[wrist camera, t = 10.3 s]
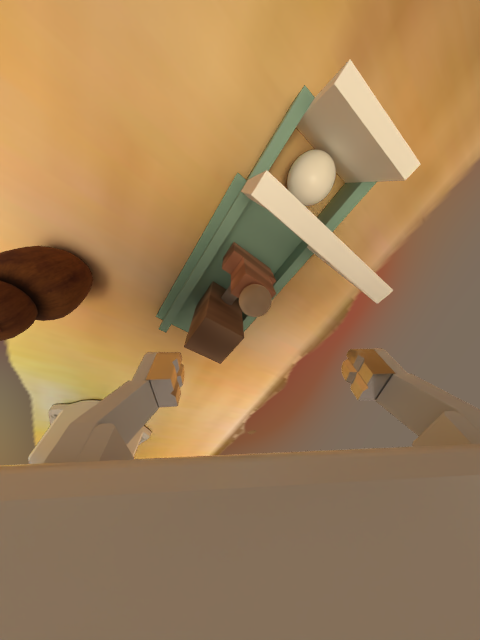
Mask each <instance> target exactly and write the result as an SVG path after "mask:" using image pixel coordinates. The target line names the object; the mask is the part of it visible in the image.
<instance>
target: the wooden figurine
mask: <svg viewBox="0 0 480 640" xmlns="http://www.w3.org/2000/svg"><path fill="white" fill-rule="evenodd" d="M92 282H93V279H92V273H91V271H90V270H89V268H88V266H87V265H86V264H85V263H84V262H83V261H82V260H81V259H79V258H78V257H76V256H75V255H73V254H72V253H69V252H67V251H65V250H60V249H56V248H51V247H44V246H32V247H24V248H18V249H13V250H9V251H5V252H2V253H0V341H2V340H6V339H10V338H13V337H15V336H17V335H19V334H20V333H22V332H24V331H25V330H26V329H28V328H29V327H30V326H31V325H32V324H33V323H34V321H35V320H42V321H45V320H55V319H59V318H62V317H64V316H66V315H68V314H69V313H71V312H72V311H73V310H74V309H76V308H77V307H78V306H79V305H80V303H81V302H82V301H83V300H84V299H85V297H86V296H87V294H88V292H89V291H90V288H91V286H92Z"/></svg>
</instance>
